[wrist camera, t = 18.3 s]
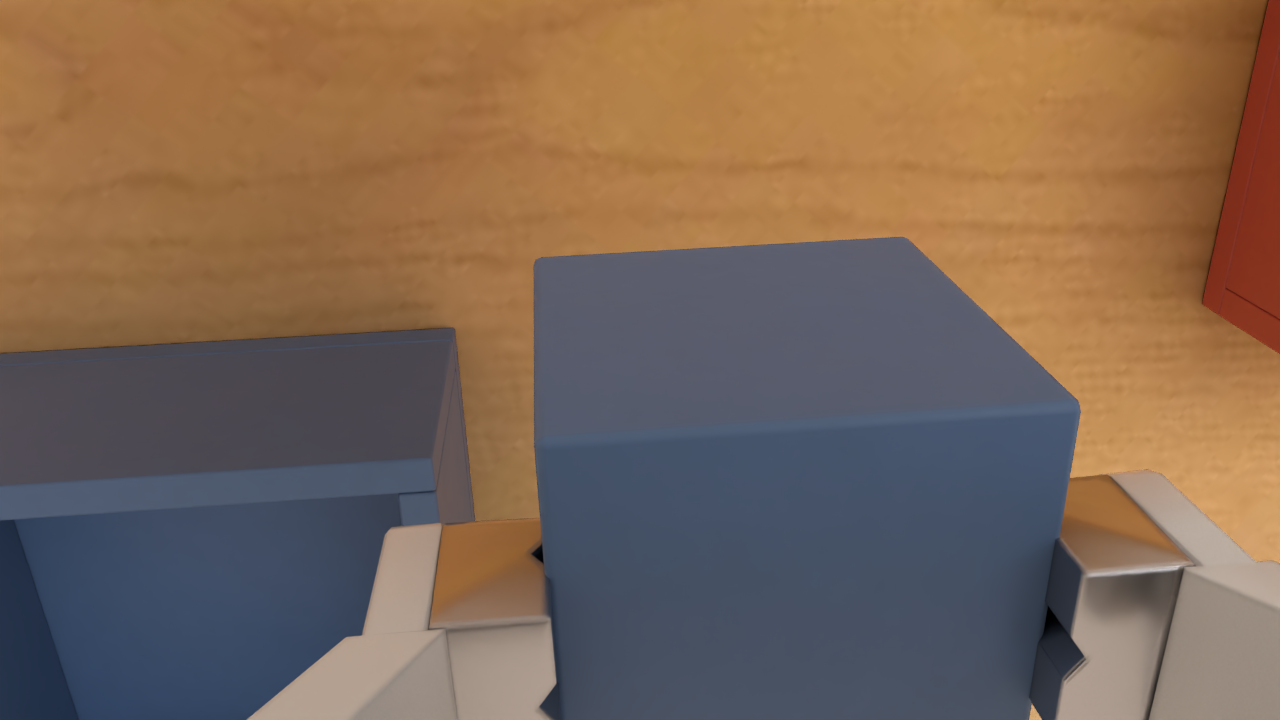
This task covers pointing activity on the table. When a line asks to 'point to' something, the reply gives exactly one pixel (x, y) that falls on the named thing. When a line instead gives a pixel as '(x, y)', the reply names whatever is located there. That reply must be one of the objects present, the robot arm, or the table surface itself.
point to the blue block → (791, 486)
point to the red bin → (1253, 206)
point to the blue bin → (209, 512)
